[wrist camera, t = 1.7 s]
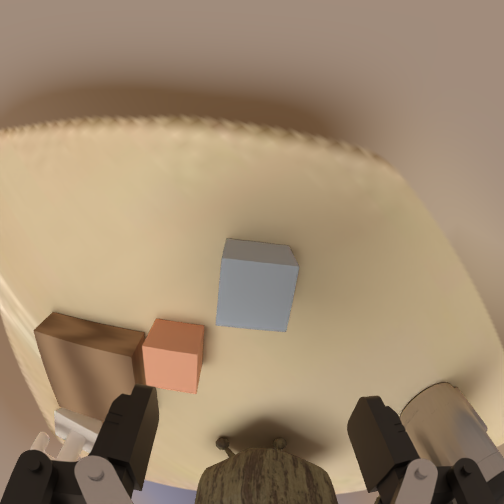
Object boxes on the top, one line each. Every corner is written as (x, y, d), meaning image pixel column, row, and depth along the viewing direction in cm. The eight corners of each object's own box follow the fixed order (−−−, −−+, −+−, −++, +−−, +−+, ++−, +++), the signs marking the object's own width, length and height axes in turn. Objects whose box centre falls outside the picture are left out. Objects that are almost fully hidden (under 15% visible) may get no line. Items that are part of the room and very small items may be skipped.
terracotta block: (204, 325, 25) (197, 354, 21) (202, 362, 27) (196, 393, 22) (156, 318, 25) (142, 345, 21) (158, 355, 27) (146, 385, 22)
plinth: (144, 332, 26) (131, 356, 22) (152, 407, 29) (144, 432, 25) (53, 312, 25) (33, 330, 21) (72, 386, 28) (59, 406, 24)
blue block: (288, 245, 23) (299, 266, 19) (278, 300, 25) (286, 331, 20) (226, 238, 23) (221, 257, 18) (220, 294, 25) (215, 325, 20)
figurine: (58, 388, 28) (9, 468, 14) (120, 421, 30) (87, 513, 15) (58, 414, 30) (19, 485, 16) (113, 443, 32) (86, 522, 17)
